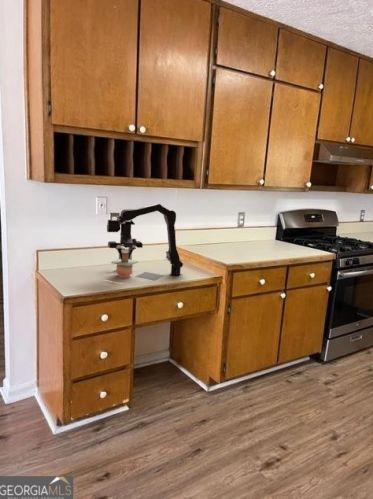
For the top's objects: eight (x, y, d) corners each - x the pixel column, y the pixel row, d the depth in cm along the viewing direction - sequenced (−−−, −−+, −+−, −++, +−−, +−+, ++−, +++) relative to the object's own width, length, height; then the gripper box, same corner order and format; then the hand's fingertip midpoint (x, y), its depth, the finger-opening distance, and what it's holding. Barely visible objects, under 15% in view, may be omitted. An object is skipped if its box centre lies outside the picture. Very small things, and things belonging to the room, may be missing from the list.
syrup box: (125, 268, 235) (126, 245, 232) (131, 270, 232) (132, 247, 229) (118, 269, 231) (118, 246, 228) (124, 271, 227) (125, 248, 224)
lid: (121, 259, 221) (121, 249, 220) (138, 262, 217) (138, 252, 216) (111, 263, 211) (111, 253, 210) (128, 266, 207) (128, 255, 206)
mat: (145, 272, 228) (145, 271, 228) (164, 276, 223) (164, 275, 223) (134, 277, 216) (134, 276, 216) (154, 281, 211) (155, 280, 211)
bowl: (121, 274, 221) (121, 262, 220) (134, 276, 218) (135, 264, 217) (113, 277, 213) (113, 265, 212) (126, 280, 210) (127, 268, 208)
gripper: (112, 234, 199) (111, 263, 203) (146, 234, 207) (144, 262, 210) (108, 231, 209) (107, 258, 213) (140, 231, 217) (139, 257, 220)
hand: (124, 259), depth 213 cm, fingers closed on lid, 4 cm apart
